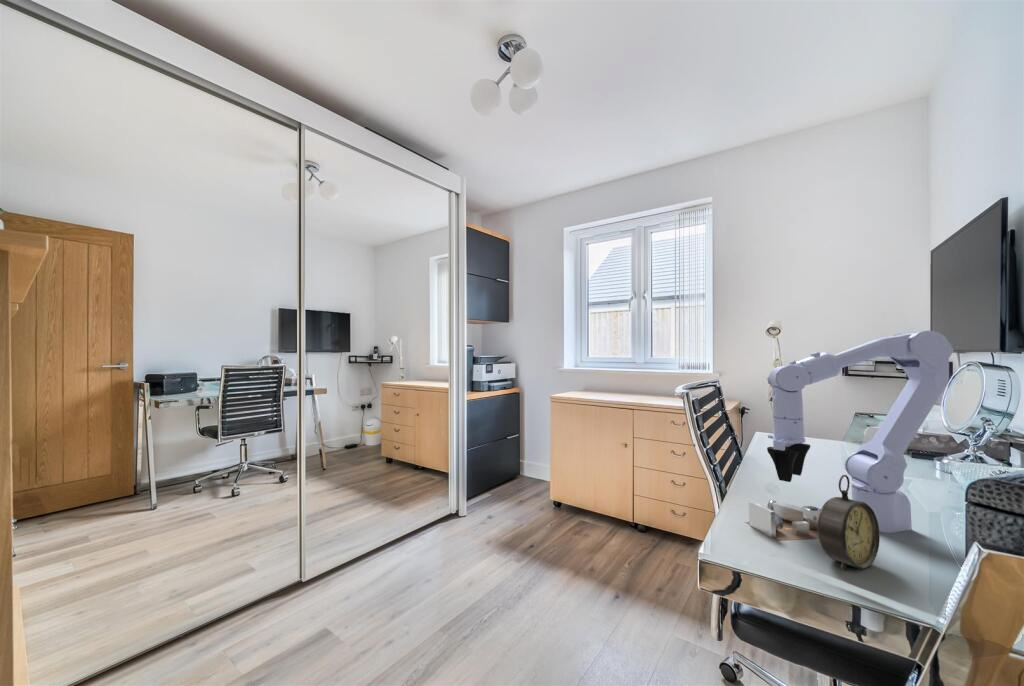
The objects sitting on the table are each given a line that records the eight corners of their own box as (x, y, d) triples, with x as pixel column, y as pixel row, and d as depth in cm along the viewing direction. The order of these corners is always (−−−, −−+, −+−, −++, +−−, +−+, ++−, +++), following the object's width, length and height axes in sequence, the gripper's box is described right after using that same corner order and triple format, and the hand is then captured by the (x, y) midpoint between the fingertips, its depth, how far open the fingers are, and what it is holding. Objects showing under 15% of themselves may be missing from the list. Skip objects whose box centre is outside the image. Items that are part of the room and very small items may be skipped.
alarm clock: (848, 582, 64) (844, 482, 65) (811, 567, 69) (808, 474, 70) (883, 569, 68) (879, 475, 69) (847, 555, 73) (843, 467, 74)
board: (813, 522, 88) (813, 518, 88) (853, 540, 79) (852, 535, 79) (744, 526, 86) (744, 521, 86) (777, 545, 77) (777, 540, 77)
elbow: (826, 527, 82) (826, 508, 83) (819, 531, 80) (819, 512, 81) (774, 512, 91) (774, 495, 91) (767, 515, 89) (766, 498, 89)
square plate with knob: (786, 522, 85) (786, 499, 86) (811, 534, 80) (810, 509, 80) (749, 524, 84) (748, 501, 85) (771, 537, 78) (770, 511, 79)
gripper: (778, 413, 98) (780, 468, 97) (757, 418, 88) (759, 479, 88) (812, 416, 92) (815, 474, 92) (794, 422, 83) (796, 487, 82)
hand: (790, 477), depth 89 cm, fingers open, 7 cm apart
